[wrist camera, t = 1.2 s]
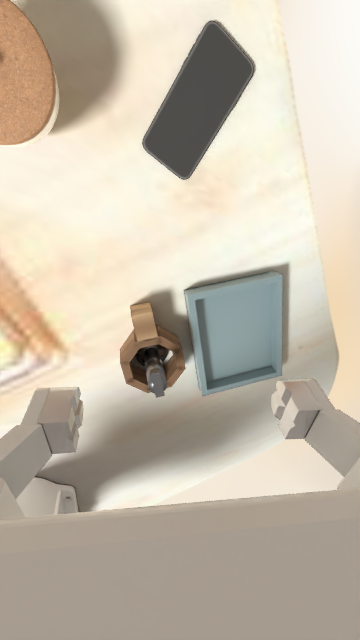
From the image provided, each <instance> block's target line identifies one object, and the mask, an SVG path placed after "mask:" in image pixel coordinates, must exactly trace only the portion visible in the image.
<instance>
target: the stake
mask: <svg viewBox="0 0 360 640" xmlns="http://www.w3.org/2000/svg"><path fill="white" fill-rule="evenodd" d="M166 355H167V351H166V348H165V347H164V346H162V345H160V344H157V345H152V346H148V347H144V348H140V349H139V350H138V351H137V353H136V358H137V360H138V362H139V363H140V364H141V365H143V366H145V368H146V375H147V381H148V388H149V390H150V391H151V392H152V393H155V395H156V397H160V396H164V390H165V389H166V388H167V381H166V377H165V373H164V369H163V365H162V362H163V361H164V360H165V358H166Z"/></svg>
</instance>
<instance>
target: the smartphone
mask: <svg viewBox="0 0 360 640" xmlns="http://www.w3.org/2000/svg"><path fill="white" fill-rule="evenodd" d="M253 72H254V68H253V64H252V62H251V61H250V59H249V58H248V57H247V56H246V55H245V54H244V53H243V51H242V50H241V49H240V48H239V47H238V46H237V45H236V44H235V42H234V41H233V40H232V39H231V38H230V37H229V36H228V34H227V33H226V32H225V31H224V30H223V29H222V28H221V26H220V25H219V24H218V23H216V22H214V21H209V22H208V23H206V25H205V26H204V28H203V30H202V32H201V33H200V34H199V36H198V38H197V39H196V43H195V44H194V45H193V47H192V49H191V50H190V52H189V54H188V57H187V58H186V60H185V61H184V63H183V65H182V68H181V70H180V72H179V74H178V75H177V77H176V79H175V81H174V83H173V85H172V86H171V88H170V90H169V92H168V94H167V96H166V97H165V99H164V101H163V103H162V105H161V107H160V108H159V110H158V112H157V114H156V116H155V118H154V119H153V121H152V123H151V125H150V127H149V129H148V130H147V132H146V134H145V136H144V138H143V142H142V144H143V147H144V149H145V150H146V151H147V152H148V153H149V154H150V155H151V156H153V157H154V158H155V159H156V160H158V161H159V162H160V163H161V164H163V165H164V166H166V168H168V169H169V170H170V171H171V172H173V173H174V174H175V175H176V176H178V177H179V178H181V179H184V180H186V179H188V178H189V177H190V176H191V175H192V173H193V171H194V170H195V168H196V166H197V165H198V163H199V162H200V160H201V158H202V157H203V155H204V154H205V152H206V150H207V149H208V147H209V145H210V144H211V142H212V141H213V139H214V137H215V136H216V134H217V132H218V131H219V129H220V128H221V126H222V124H223V123H224V121H225V119H226V118H227V116H228V115H229V113H230V111H232V109H233V107H234V106H235V104H236V103H237V101H238V99H239V98H240V95H241V93H242V92H243V90H244V89H245V87H246V85H247V84H248V82H249V80H250V79H251V77H252V75H253Z"/></svg>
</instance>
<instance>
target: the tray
mask: <svg viewBox="0 0 360 640" xmlns="http://www.w3.org/2000/svg"><path fill="white" fill-rule="evenodd" d="M184 295H185V301H186V308H187V314H188V321H189V327H190V334H191V340H192V347H193V353H194V360H195V366H196V373H197V379H198V386H199V389H200V392H201V394H202V396H205V395H209V394H213V393H216V392H220V391H224V390H228V389H232V388H236V387H240V386H243V385H247V384H251V383H255V382H259V381H263V380H266V379H270V378H274V377H278V376H282V295H283V275H282V274H280V273H278V272H276V271H271V272H267V273H262V274H257V275H252V276H248V277H243V278H238V279H234V280H229V281H224V282H220V283H215V284H210V285H205V286H201V287H196V288H191V289H187V290H184Z"/></svg>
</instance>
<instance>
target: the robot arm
mask: <svg viewBox="0 0 360 640" xmlns="http://www.w3.org/2000/svg"><path fill="white" fill-rule="evenodd" d="M275 387H276V389H277V391H275V392H274V393H273V394H272V397H271V408H272V411H273V414H274V416H275V417H277V418H278V419H279V420H280V422H279V427H280V429H281V431H282V433H283V436H284V438H285V439H305V441H307V442H308V443H309V444H310V445H311V446H312V447H313V448H314V449H315V450H316V451H317V452H318V453H319V454H320V455H321V456H322V457H324V458H325V459H326V460H327V461H328V462H329V463H330V464H331V465H332V466H333V467H334V468H335V469H336V470H337V471H338V472H340V473H341V475H342V476H344V478H343V479H342V481H341V482H340V483H339V485H338V487H337V490H332V491H319V492H308V493H297V494H285V495H274V496H263V497H251V498H239V499H228V500H217V501H205V502H193V503H182V504H171V505H160V506H148V507H137V508H125V509H114V510H103V511H91V512H80V513H79V512H78V505H77V499H76V493H75V489H74V487H72V486H68V485H59V484H55V483H53V482H51V481H48V480H45V479H42V478H36V477H35V476H36V474H37V473H38V472H39V471H40V470H41V468H42V467H43V466H44V465H45V464H46V462H47V461H48V460H49V459H50V457H51V456H52V454H59V453H71V452H76V448H77V444H78V439H79V433H78V428H79V427H80V426H81V425H82V420H83V403H82V401H81V400H80V395H81V393H80V389H79V388H78V387H65V388H37V390H36V391H35V392H34V394H33V397H32V399H31V401H30V404H29V406H28V409H27V411H26V413H25V416H24V418H23V420H22V423H21V425H16V426H15V427H14V428H13V429H11V430H10V431H9V432H8V433H7V434H5V435H4V436H3V437H2V438H1V439H0V640H360V423H359V422H357V421H356V420H354V419H353V418H351V417H350V416H348V415H346V414H345V413H343V412H342V411H340V410H336V409H335V408H334V406H333V405H332V404H331V402H330V401H329V399H328V398H327V396H326V395H325V393H324V392H323V390H322V389H321V388H320V386H319V385H318V383H317V382H316V381H315V380H314V379H295V380H279V381H278V382H277V383H276V386H275Z"/></svg>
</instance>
